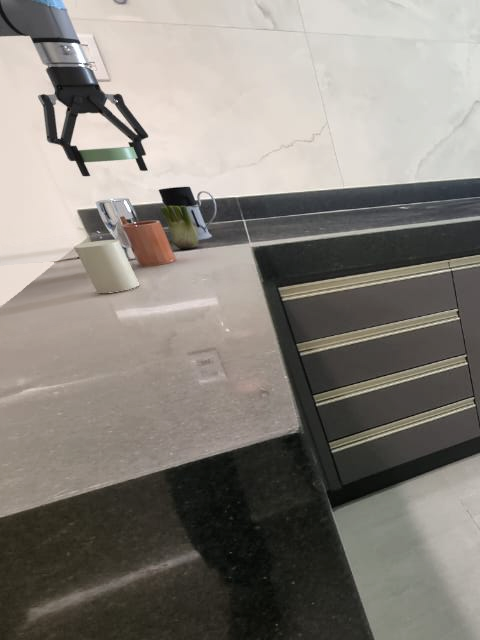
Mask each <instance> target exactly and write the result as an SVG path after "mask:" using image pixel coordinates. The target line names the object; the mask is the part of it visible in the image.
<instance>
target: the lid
mask: <svg viewBox="0 0 480 640" xmlns="http://www.w3.org/2000/svg"><path fill="white" fill-rule="evenodd" d="M78 151H79V153H80V155H81V157H82V159H83V161H84V163H97V162H98V163H100V162H113V161H124V160H135V159H136V158H138V157H137V155H136V153H135V150H134V148H133V147H130V146H121V147H120V146H119V147H106V148H104V147H103V148H102V147H101V148H90V149H78Z"/></svg>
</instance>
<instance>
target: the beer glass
mask: <svg viewBox="0 0 480 640" xmlns="http://www.w3.org/2000/svg"><path fill="white" fill-rule="evenodd" d="M94 202H95V205H96V208H97V210H98V213H99V216H100V218H101V220H102V222H103V224H104V226H105V227H106V229H107V230H108V232H109V233H110V234H111V236H112V237H113V238H114V240H119V242H120V244H121V246H122V248H123V250H124V253H125V255H126V257H127V259H128V261H131V260H136V258H135V255H134V253H133V251H132V249H131V247H130V245H129V243H128V240H127V238H126V236H125V234H124V232H123V230H122V227H121V226H122V225H125V224H130V223H136V222H140V218H139V217H138V214H137V212H136V210H135V208H134V206H133V205H132V202H131V200H130V199H129V198H126V197H125V198H110V199H109V198H108V199H103V200H97V201H94Z"/></svg>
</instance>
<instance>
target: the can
mask: <svg viewBox="0 0 480 640" xmlns="http://www.w3.org/2000/svg"><path fill="white" fill-rule="evenodd" d="M73 248H74V250H75V252H76V254H77V256H78V259H79V260H80V262H81V264H82V266H83V268H84V270H85V272H86V274H87V276H88V278H89V279H90V282H91V284H92V286H93V288H94V290H95V292H96V294H98V293H109V292H116V291H121V290H125V289H130V288H134V287H136V286H139V284H140V283H139V280H138V278H137V276H136V274H135V272H134V270H133V268H132V266H131V263H130V260H128V259H127V257H126V255H125V253H124V250H123V248H122V246H121V244H120V242H119V240H115V239H104V240H103V239H102V240H95V241H89V242H84V243H80V244H77V245H74V246H73ZM139 287H140V286H139ZM134 289H135V288H134Z"/></svg>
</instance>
